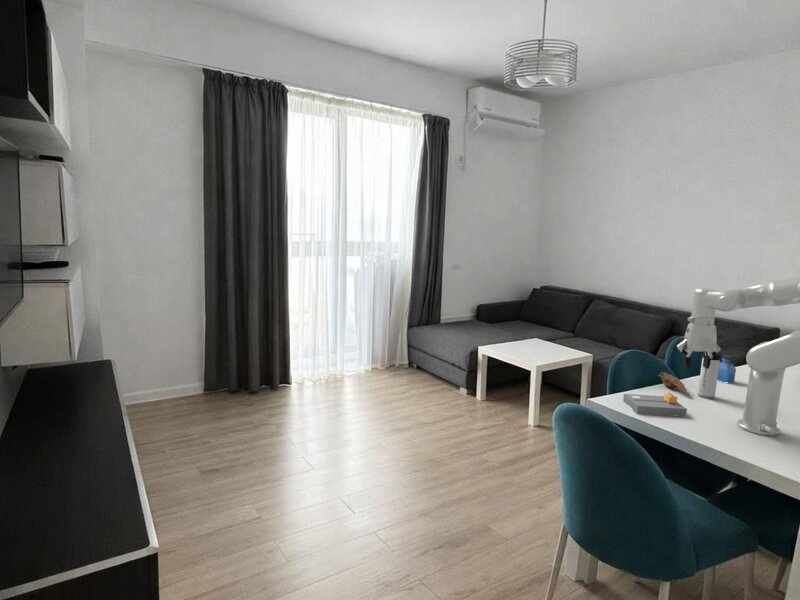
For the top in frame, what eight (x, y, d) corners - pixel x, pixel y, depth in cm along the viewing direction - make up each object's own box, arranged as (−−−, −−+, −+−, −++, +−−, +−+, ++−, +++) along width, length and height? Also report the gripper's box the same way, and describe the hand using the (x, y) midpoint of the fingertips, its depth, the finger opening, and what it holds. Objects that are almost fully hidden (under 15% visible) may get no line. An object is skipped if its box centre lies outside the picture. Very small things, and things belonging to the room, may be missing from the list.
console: (686, 416, 189) (687, 408, 188) (636, 413, 190) (637, 405, 189) (668, 403, 203) (669, 396, 202) (623, 400, 204) (623, 393, 203)
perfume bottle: (712, 379, 241) (716, 355, 239) (721, 378, 244) (724, 354, 242) (725, 383, 235) (729, 358, 234) (734, 382, 238) (737, 357, 236)
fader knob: (676, 403, 193) (677, 396, 193) (668, 402, 194) (669, 395, 193) (671, 399, 197) (672, 392, 197) (663, 399, 198) (664, 392, 197)
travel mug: (709, 394, 217) (715, 349, 214) (717, 399, 211) (724, 353, 208) (694, 393, 218) (700, 348, 215) (701, 398, 211) (708, 352, 208)
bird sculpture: (678, 397, 211) (680, 386, 211) (651, 379, 236) (652, 369, 235) (694, 398, 211) (696, 386, 211) (665, 380, 236) (666, 370, 235)
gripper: (683, 321, 187) (677, 368, 190) (731, 324, 186) (725, 371, 189) (674, 318, 195) (668, 363, 197) (720, 320, 193) (714, 365, 196)
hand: (696, 366), depth 193 cm, fingers open, 6 cm apart
